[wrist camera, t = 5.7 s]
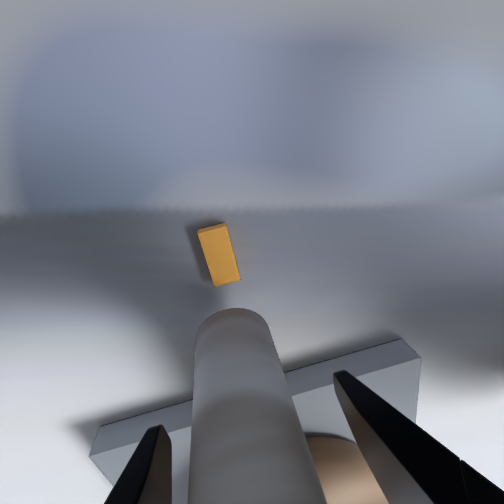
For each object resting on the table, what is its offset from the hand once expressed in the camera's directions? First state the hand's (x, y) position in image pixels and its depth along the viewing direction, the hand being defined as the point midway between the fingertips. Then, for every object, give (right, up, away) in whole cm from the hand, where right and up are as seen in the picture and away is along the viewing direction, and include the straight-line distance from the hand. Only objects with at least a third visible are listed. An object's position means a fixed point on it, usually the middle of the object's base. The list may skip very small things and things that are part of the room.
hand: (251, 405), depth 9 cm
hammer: (+1, -7, +7) cm, 10 cm away
